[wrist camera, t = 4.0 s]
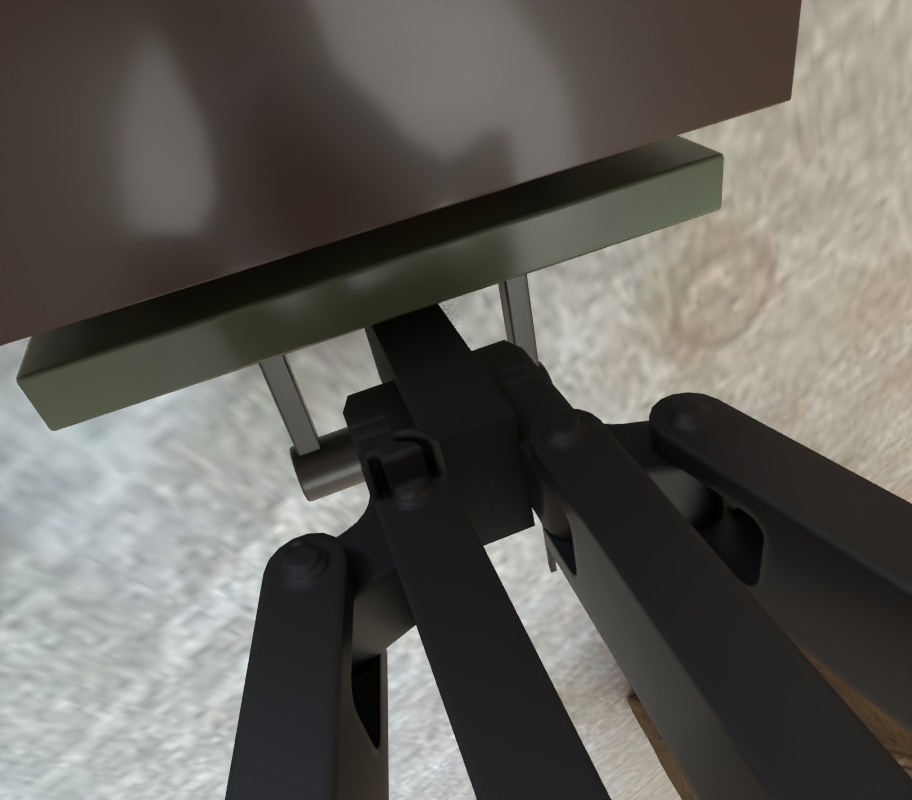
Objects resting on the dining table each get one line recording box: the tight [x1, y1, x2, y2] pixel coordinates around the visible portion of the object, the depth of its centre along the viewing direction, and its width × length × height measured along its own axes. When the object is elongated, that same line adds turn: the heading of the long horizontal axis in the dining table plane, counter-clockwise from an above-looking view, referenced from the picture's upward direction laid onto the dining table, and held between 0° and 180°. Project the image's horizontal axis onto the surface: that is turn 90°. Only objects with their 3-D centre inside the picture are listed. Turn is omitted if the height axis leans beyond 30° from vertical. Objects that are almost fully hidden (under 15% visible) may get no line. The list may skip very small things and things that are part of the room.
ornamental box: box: [629, 644, 912, 800], centre depth 39 cm, size 35×18×18 cm, turn 42°
